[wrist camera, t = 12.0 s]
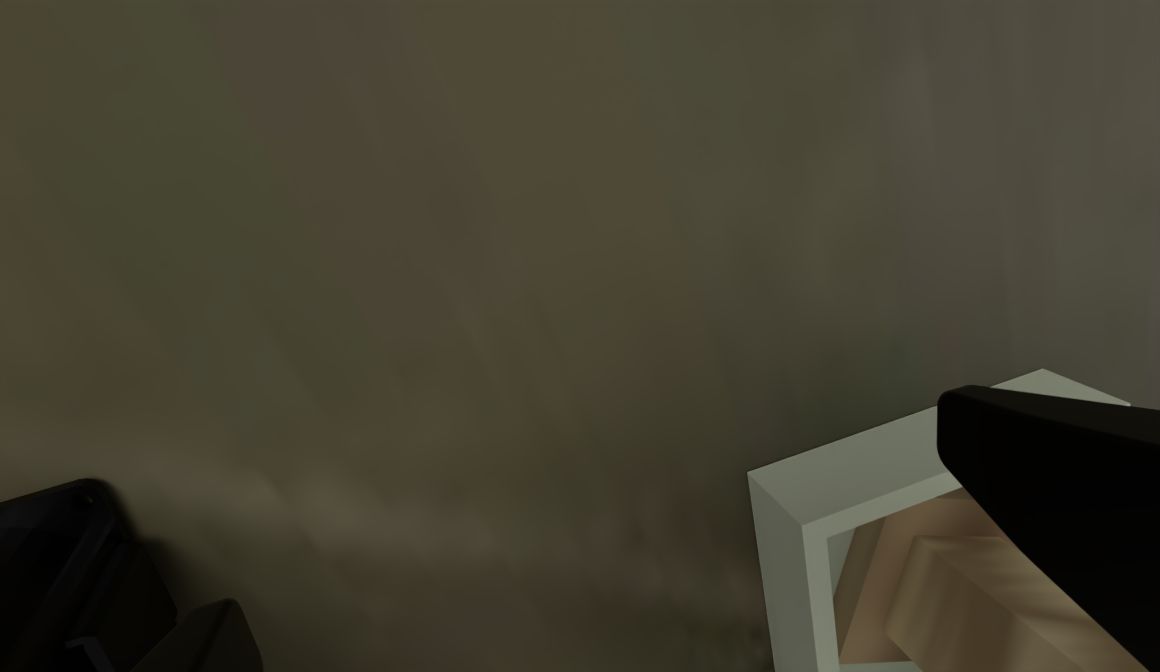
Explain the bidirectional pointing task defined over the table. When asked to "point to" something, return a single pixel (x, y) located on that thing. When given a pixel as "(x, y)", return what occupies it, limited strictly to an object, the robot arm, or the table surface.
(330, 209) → the table surface
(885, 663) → the box
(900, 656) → the wooden block tower
